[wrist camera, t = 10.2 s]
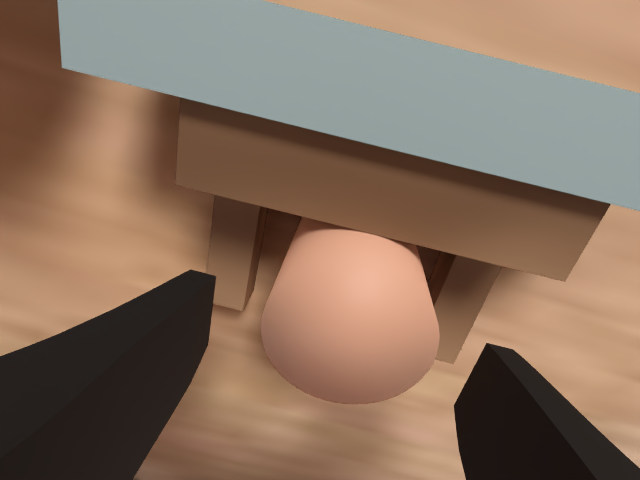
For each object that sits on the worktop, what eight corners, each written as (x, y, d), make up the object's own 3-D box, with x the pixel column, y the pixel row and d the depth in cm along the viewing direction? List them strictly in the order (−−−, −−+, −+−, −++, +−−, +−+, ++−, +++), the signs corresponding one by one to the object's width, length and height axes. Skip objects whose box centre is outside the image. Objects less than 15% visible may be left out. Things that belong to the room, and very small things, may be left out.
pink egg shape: (361, 298, 15) (359, 428, 10) (279, 238, 14) (228, 343, 9) (434, 226, 14) (479, 334, 8) (346, 155, 13) (333, 222, 7)
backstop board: (599, 171, 12) (736, 235, 8) (173, 66, 12) (61, 67, 8) (635, 107, 11) (812, 136, 7) (177, -6, 11) (54, -51, 7)
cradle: (445, 337, 15) (474, 435, 11) (217, 280, 16) (165, 357, 11) (529, 157, 12) (610, 204, 8) (241, 86, 12) (180, 97, 8)
